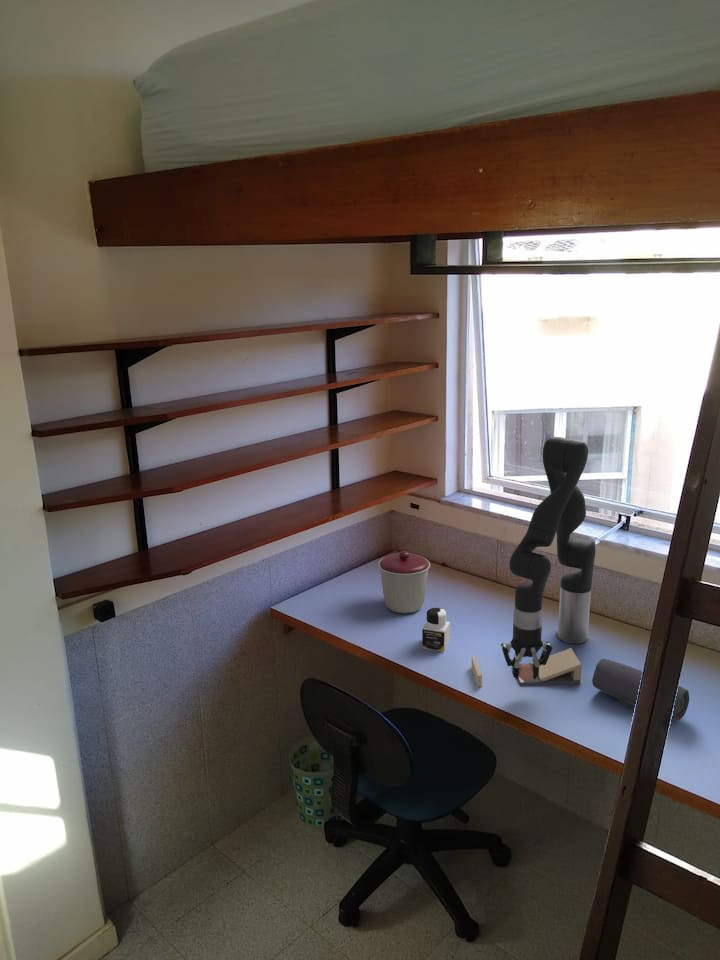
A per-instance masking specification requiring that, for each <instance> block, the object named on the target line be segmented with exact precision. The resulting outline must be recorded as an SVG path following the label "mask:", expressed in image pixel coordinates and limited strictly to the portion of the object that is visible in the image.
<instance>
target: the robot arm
mask: <svg viewBox="0 0 720 960" xmlns="http://www.w3.org/2000/svg"><path fill="white" fill-rule="evenodd" d="M588 456H589V448H588V445H587V443H586V442H585V441H582V440H577V439H574V438H573V439H572V438H569V437H568V438H567V437H562V436H551V437H548V438H547V439H546V441H545V442H544V445H543V447H542V464H543V468H544V472H545V475H546V479H547V482H548V486H549V491H550V492H549V493H550V494H549V495H548V496H546V497H545V498H544V499H543V500H542V501H540V503H539V504H538V505H537V506H536V507H535V509H534V511H533V514H532V516H531V519H530V522H529V524H528V527H527V531H526V532H525V535H524V536H523V538H522V540H521V541H520V543H519V544H518V545H517V546H516V548H515V550H513V553H511V556H510V558H509V563H508V565H509V570H510V572H511V573H512V575H514V576H517V577H521V578H524V579H527V580H531V582H524V583H520V584H518V585H517V586H516V587H515V593H514V594H515V596H514V610H513V620H512V622H513V624H512V639H511V641H510V642H509V643H501V644H500V647H501V650H502V653H503V657H504V659H505V662H506V665H507V667H512V669H511V674H512V677H513V678H515V680H518V677H519V667H518V666H519V664H521V663H520V662H521V661H522V660H523V658H526V657H528V658H531V659H532V662H531V663H532V668H533V671H534V674H533V679H536V677H538V675H539V666H540V665H546V663H547V661H548V658H549V656H551V653H552V650H553V646H552V644H551V643H550V641H546V642H544V641H542V631H543V630H542V629H543V594H544V590H545V587H546V584H547V581H548V579H549V577H550V574H551V570H552V563H551V561H550V559H549V557H547V556H546V555H545V554H541V553H537V552H533V551H534V550H535V549H536V548H540V547H541V548H547V547H550V546H551V545H552V544H553V542H554V539H555V535H556V549H557V550H556V552H557V553H556V556H557V559H558V562H559V564H560V565H562V566H564V567H568V568H573V569H579V570H580V571H577V572H572V573H567V574H564V575H563V576H562V577H561V578H560V592H559V605H558V606H559V607H558V620H557V622H558V623H557V638H558V639H560V640H561V641H563V642H566V643H569V644H582V643H585V642H586V641H587V640H588V636H589V635H588V633H589V623H590V622H589V621H590V608H591V597H592V596H591V595H592V584H593V573H594V566H595V565H594V564H595V559H596V550H597V548H596V543H595V541H593V540H592V539H591V540H590V539H584V538H579V537H573V536H571V535H572V533H573V532H575V531H576V530H577V529H578V528H579V527H580V526H581V525H582V524H583V522H584V521H585V519H586V516H587V510H586V509H587V508H586V507H587V506H586V500H585V496H584V494H583V492H582V490H581V489H580V488H579V486H578V482H579V480H580V479H581V476H582V474H583V472H584V470H585V467H586V465H587V462H588ZM541 648H542V652H541V655H540V656H538V654H537V653H538V652H539V651H540V650H541ZM511 649H512V650H513V651H514V653H513V657H512V659H511V658H510V654H509V653H510V652H511ZM538 657H539V658H538ZM533 662H534V663H533Z"/></svg>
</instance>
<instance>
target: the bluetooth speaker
mask: <svg viewBox="0 0 720 960" xmlns="http://www.w3.org/2000/svg"><path fill="white" fill-rule="evenodd" d="M642 671H643V670H640V669H637V668H635V667H632V666H629V665H627V664H623V663H620V662H618V661H614V660H610V659H606V658H601V659H600V660H599V661H598V662H597V664H596V665H595V668H594V673H593V676H592V681H591V682H592V685H593V687H594V688H595V689H598V690H599V691H602V692H603V693H606V694H607V695H610V696H612V697H613V698H616V699H618V702H620V703H621V704H624V705H626V706H628V707H631V708H633V709H635V708H634V707H635V704H636V700H637V695H638V689H639V685H640V680H641V675H642ZM678 686H679V687H678V692H677V696H676V700H675V705H674V711H673V716H672V719H671V720H673V721H676V722H680V721H681V720H682V719H683V717H684V716H685V714H686V712H687V710H688V707H689V704H690V692H689V690H688V689H686V688H684V687H683V686H681V685H678Z"/></svg>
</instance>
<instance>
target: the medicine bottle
mask: <svg viewBox="0 0 720 960" xmlns="http://www.w3.org/2000/svg"><path fill="white" fill-rule="evenodd" d="M421 631H422V632H421V633H422V637H421V639H422V643H421V644H422V645H421V648H423V649H425V650H431V651H437V652H441V653H442V652H443V653H444V652H445V651H446V649H447V648H448V646H449V644H450V641H451V639H450V637H451V622H450V621H447V612H446V610H445V609H443V608H441V607H431V608H429V609H428V610H427V611H426V622H425V623H424V625H423V627H422V628H421Z"/></svg>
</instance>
